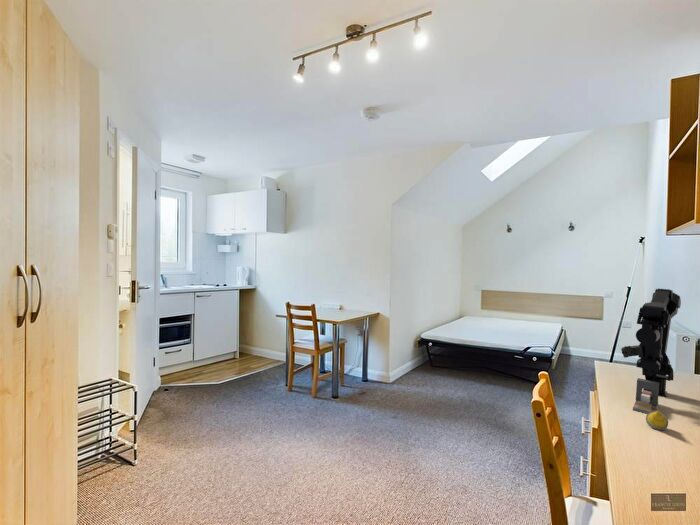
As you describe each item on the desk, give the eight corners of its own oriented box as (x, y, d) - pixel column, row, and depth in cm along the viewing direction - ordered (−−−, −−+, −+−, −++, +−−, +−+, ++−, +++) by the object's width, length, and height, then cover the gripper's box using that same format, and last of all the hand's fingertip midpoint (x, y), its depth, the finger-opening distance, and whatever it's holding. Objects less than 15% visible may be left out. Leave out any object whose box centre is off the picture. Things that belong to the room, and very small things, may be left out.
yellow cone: (671, 431, 117) (675, 416, 111) (653, 436, 118) (655, 422, 112) (659, 414, 121) (661, 400, 115) (641, 419, 122) (642, 405, 116)
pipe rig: (637, 399, 141) (638, 384, 141) (658, 404, 137) (659, 388, 137) (632, 410, 131) (633, 394, 130) (655, 415, 127) (656, 399, 126)
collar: (636, 398, 139) (638, 378, 138) (657, 403, 135) (659, 382, 134) (635, 400, 137) (637, 379, 136) (657, 405, 133) (658, 384, 132)
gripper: (627, 333, 149) (624, 372, 150) (620, 340, 135) (617, 384, 136) (664, 338, 142) (661, 380, 142) (660, 346, 128) (657, 393, 128)
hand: (648, 384), depth 137 cm, fingers closed
